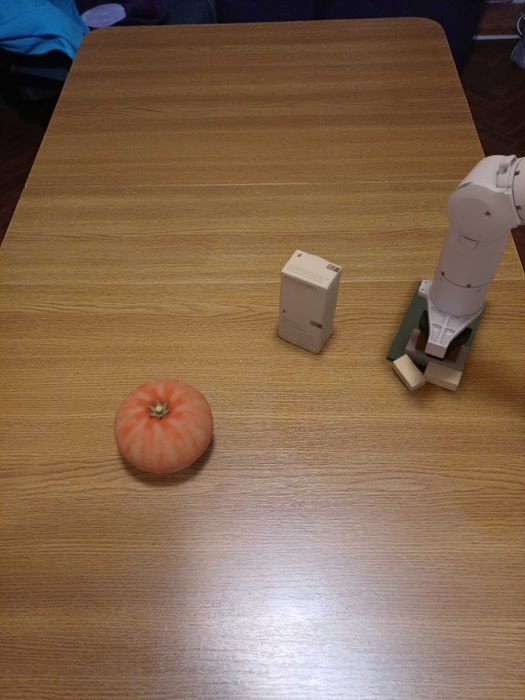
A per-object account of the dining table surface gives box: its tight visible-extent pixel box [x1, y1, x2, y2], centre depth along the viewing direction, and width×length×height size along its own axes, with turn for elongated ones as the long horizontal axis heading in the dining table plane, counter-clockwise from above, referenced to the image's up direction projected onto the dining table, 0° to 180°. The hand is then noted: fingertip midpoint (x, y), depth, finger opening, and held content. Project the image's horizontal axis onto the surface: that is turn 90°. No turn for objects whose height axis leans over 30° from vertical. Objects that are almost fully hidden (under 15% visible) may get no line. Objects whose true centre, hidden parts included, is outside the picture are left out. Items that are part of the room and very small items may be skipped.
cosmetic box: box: [277, 248, 343, 354], centre depth 74 cm, size 6×4×12 cm
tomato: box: [113, 378, 214, 474], centre depth 67 cm, size 11×11×8 cm
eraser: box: [404, 329, 471, 373], centre depth 74 cm, size 7×4×4 cm, turn 64°
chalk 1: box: [391, 354, 427, 393], centre depth 74 cm, size 4×2×1 cm, turn 29°
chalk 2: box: [423, 361, 463, 392], centre depth 73 cm, size 4×2×1 cm, turn 64°
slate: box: [385, 280, 487, 374], centre depth 79 cm, size 9×14×1 cm, turn 154°
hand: (439, 347), depth 74 cm, fingers closed on eraser, 2 cm apart
